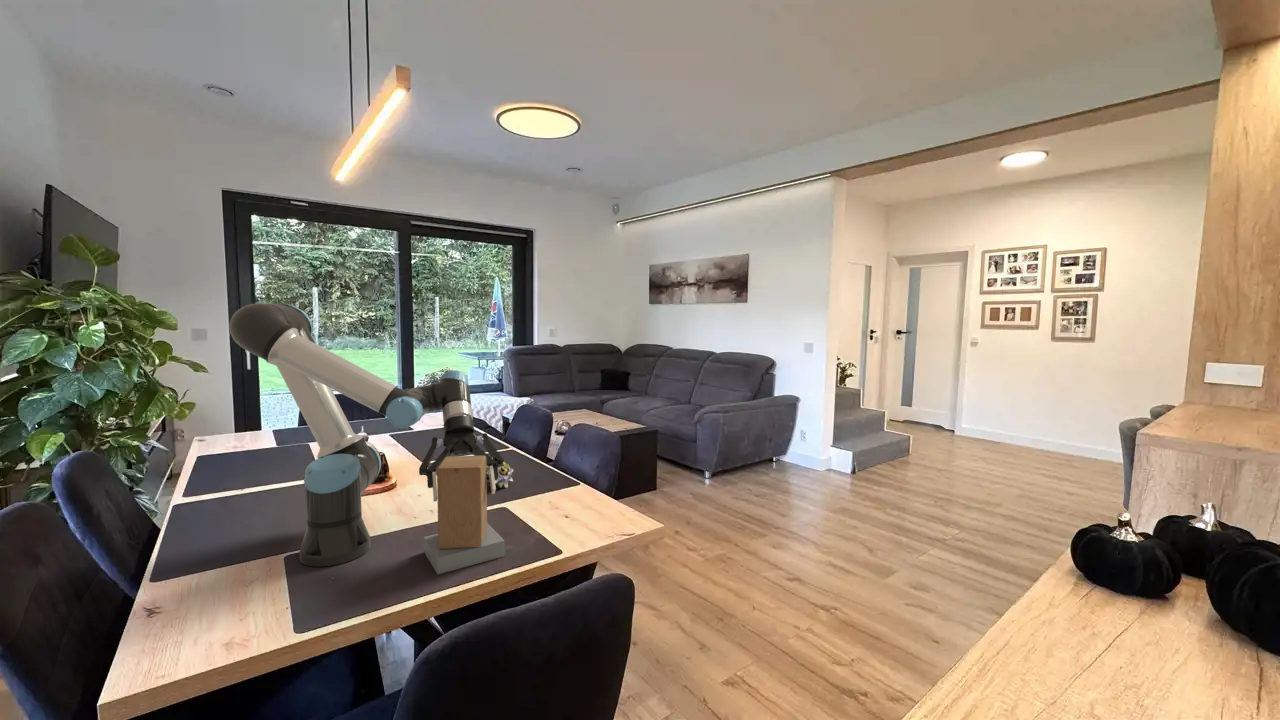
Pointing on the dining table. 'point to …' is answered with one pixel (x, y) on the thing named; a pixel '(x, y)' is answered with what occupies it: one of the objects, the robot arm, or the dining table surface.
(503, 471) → the passion flower
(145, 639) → the dining table surface
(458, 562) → the plinth
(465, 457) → the wooden block
